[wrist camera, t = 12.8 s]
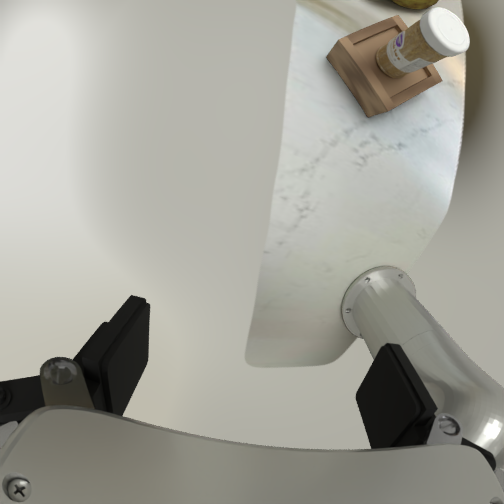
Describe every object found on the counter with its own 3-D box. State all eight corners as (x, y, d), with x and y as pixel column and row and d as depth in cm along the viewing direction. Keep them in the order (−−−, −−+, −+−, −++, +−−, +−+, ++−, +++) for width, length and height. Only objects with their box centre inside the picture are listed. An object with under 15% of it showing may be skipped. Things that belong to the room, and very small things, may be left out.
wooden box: (417, 89, 33) (442, 80, 26) (367, 117, 35) (388, 111, 28) (379, 32, 30) (398, 14, 24) (326, 57, 32) (338, 39, 26)
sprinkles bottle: (372, 44, 26) (423, 0, 14) (404, 48, 26) (464, 13, 13) (378, 78, 28) (436, 46, 15) (410, 81, 28) (476, 57, 15)
